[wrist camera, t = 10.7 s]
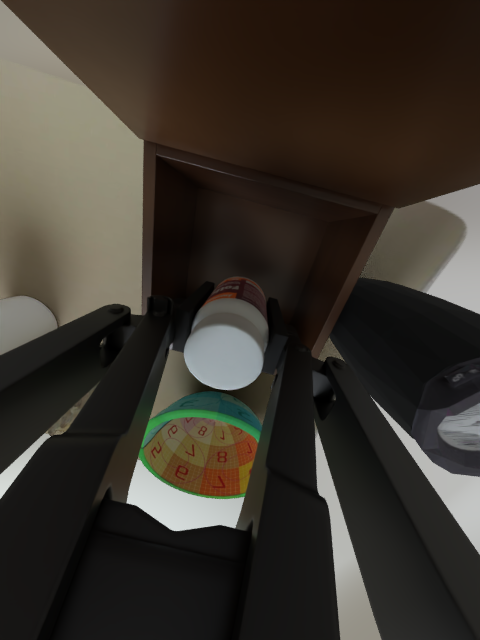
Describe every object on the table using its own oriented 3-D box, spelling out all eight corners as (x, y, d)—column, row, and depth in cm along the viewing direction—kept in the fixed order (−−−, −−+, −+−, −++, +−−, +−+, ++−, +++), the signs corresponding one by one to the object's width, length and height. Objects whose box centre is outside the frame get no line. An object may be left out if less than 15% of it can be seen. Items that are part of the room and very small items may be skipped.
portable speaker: (394, 283, 25) (710, 397, 8) (354, 339, 29) (503, 500, 12) (336, 261, 25) (532, 330, 7) (304, 321, 29) (378, 461, 11)
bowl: (294, 388, 34) (307, 444, 25) (248, 454, 44) (246, 512, 35) (177, 346, 33) (147, 388, 24) (155, 424, 42) (127, 476, 33)
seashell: (124, 366, 38) (81, 404, 28) (108, 417, 42) (66, 463, 33) (70, 343, 37) (6, 373, 27) (60, 397, 41) (2, 439, 32)
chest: (289, 333, 30) (305, 383, 20) (180, 306, 30) (141, 342, 20) (337, 216, 23) (397, 203, 13) (193, 178, 22) (143, 134, 13)
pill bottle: (238, 263, 15) (219, 293, 8) (276, 303, 17) (293, 363, 9) (201, 301, 17) (156, 356, 9) (238, 335, 18) (225, 409, 11)
